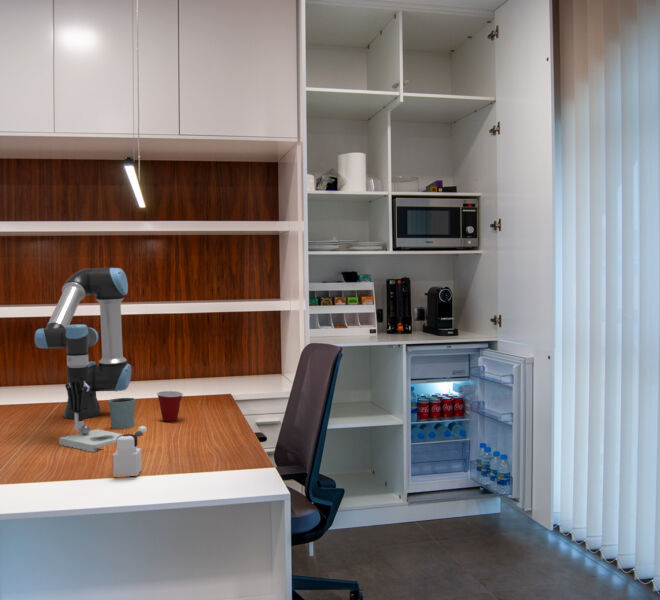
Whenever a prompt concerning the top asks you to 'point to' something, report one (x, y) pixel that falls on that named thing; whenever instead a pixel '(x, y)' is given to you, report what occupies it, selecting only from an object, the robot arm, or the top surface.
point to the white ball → (142, 429)
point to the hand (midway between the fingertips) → (79, 429)
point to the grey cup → (122, 412)
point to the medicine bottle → (127, 456)
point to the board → (90, 440)
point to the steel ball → (85, 430)
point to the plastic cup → (169, 405)
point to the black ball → (138, 433)
